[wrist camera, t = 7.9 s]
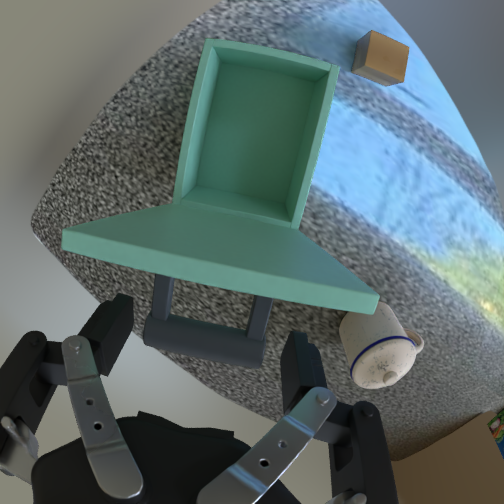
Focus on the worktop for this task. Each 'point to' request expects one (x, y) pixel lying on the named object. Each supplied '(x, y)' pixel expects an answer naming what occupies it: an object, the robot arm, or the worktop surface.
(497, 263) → the worktop surface
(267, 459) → the robot arm
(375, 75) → the block
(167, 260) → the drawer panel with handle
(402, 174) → the worktop surface
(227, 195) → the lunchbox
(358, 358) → the teacup with lid
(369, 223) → the worktop surface
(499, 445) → the blue food package
